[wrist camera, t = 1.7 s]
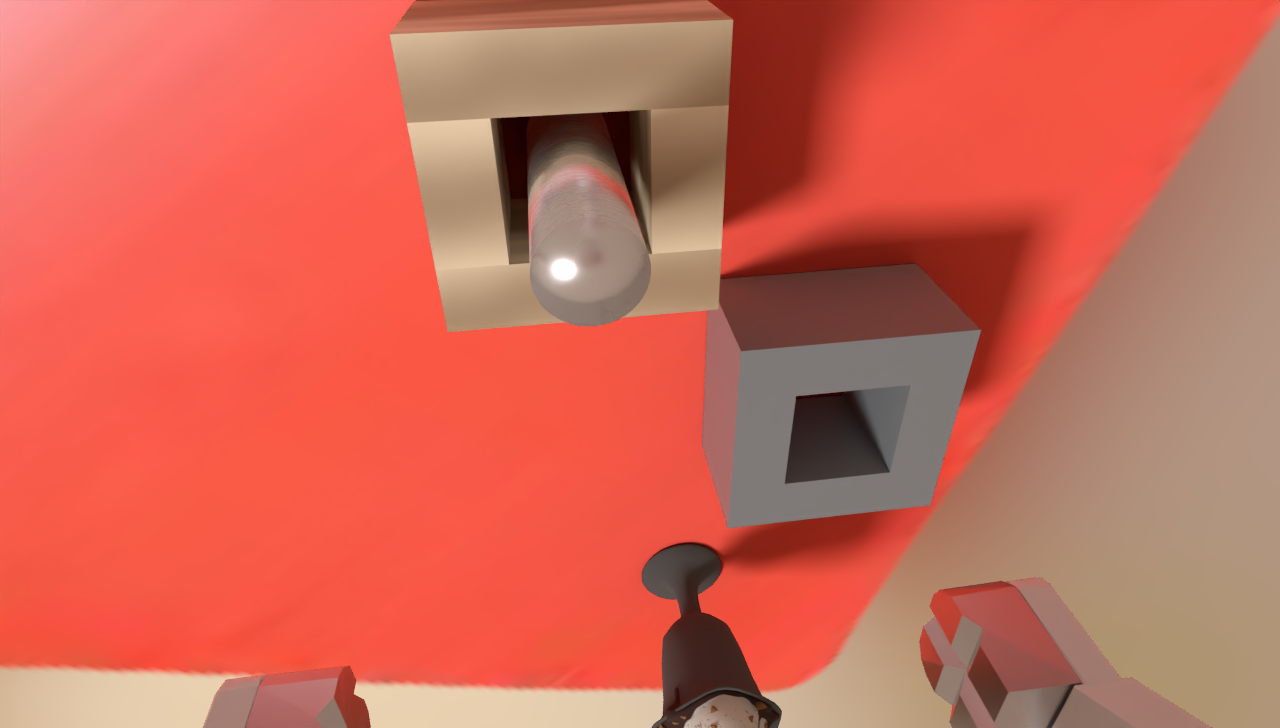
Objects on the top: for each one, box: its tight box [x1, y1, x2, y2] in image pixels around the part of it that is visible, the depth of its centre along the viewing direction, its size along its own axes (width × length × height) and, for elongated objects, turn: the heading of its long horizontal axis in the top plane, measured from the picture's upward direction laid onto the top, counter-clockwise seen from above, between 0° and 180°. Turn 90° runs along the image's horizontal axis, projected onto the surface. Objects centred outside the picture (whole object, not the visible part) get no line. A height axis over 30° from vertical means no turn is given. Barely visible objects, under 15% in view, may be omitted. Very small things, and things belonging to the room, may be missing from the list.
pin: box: [526, 112, 651, 326], centre depth 24 cm, size 3×3×12 cm
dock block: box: [702, 263, 981, 528], centre depth 35 cm, size 10×10×6 cm
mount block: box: [390, 0, 733, 332], centre depth 27 cm, size 10×10×6 cm
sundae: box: [642, 544, 782, 728], centre depth 39 cm, size 7×7×15 cm
